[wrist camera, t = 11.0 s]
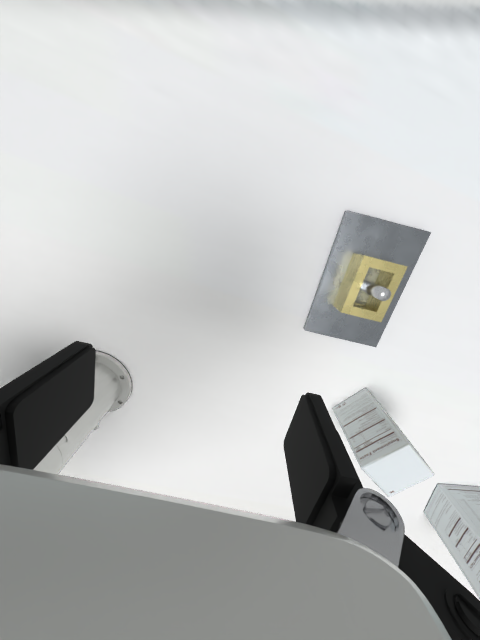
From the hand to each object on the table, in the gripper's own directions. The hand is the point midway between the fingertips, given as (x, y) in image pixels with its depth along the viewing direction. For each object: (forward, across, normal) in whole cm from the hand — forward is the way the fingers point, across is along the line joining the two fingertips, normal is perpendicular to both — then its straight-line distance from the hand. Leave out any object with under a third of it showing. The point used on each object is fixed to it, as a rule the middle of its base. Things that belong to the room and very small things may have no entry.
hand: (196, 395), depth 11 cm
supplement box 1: (+28, -28, +18) cm, 44 cm away
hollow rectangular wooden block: (+27, -19, -4) cm, 33 cm away
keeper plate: (+28, -19, -4) cm, 34 cm away
